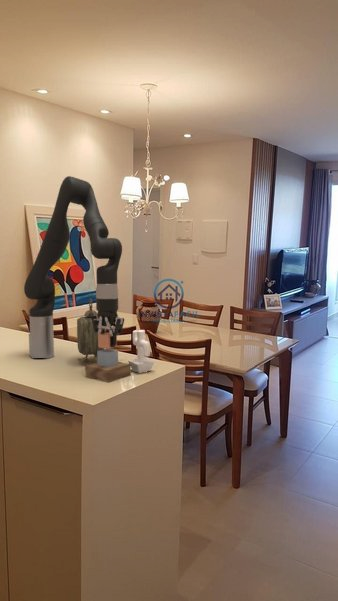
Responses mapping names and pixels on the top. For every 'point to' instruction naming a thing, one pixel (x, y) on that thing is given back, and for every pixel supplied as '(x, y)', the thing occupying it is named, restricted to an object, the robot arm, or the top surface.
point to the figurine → (141, 353)
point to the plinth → (108, 371)
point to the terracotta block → (105, 341)
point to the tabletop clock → (87, 334)
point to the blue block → (107, 357)
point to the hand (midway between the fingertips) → (107, 345)
